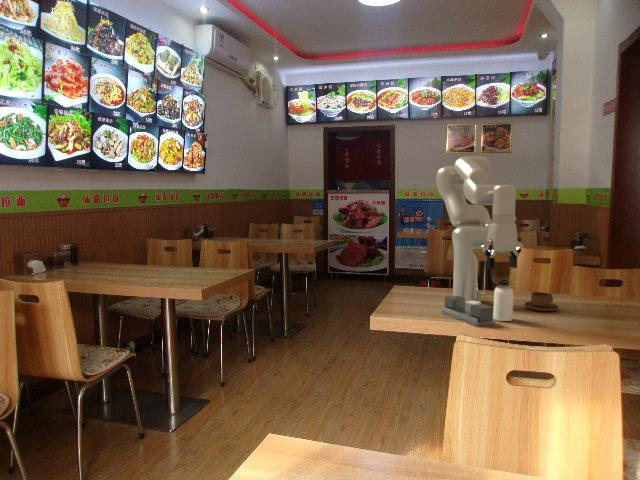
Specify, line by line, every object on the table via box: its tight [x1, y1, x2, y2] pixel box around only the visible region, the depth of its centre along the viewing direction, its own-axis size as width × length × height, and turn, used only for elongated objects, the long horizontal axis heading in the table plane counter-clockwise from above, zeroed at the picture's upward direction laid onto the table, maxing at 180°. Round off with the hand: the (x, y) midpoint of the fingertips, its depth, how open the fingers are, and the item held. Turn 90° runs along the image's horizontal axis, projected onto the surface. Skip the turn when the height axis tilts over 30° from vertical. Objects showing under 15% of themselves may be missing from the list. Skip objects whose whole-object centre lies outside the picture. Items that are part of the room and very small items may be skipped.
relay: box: [465, 300, 482, 312], centre depth 190 cm, size 5×4×4 cm
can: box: [493, 285, 514, 322], centre depth 179 cm, size 6×6×12 cm
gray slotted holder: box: [440, 295, 496, 328], centre depth 181 cm, size 8×20×6 cm, turn 22°
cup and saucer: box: [524, 291, 559, 312], centre depth 195 cm, size 12×12×6 cm
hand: (501, 268), depth 178 cm, fingers open, 9 cm apart
